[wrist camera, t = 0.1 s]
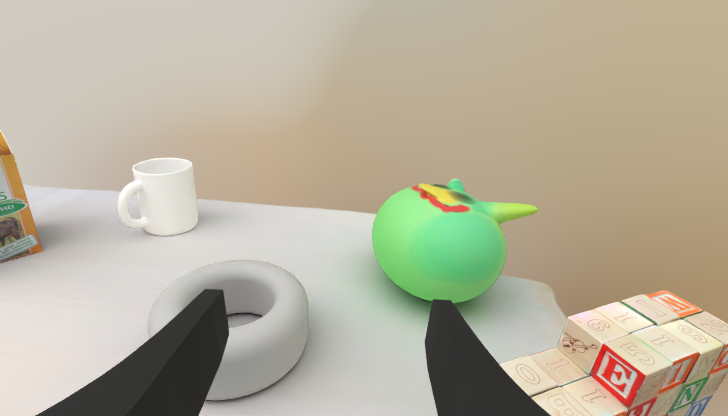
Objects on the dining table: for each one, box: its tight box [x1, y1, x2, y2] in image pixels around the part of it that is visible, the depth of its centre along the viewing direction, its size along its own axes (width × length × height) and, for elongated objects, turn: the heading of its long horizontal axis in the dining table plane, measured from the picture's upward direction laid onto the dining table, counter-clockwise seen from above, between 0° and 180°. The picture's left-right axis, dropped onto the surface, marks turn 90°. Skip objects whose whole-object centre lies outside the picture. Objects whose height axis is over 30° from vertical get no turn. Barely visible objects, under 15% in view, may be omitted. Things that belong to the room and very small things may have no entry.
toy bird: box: [372, 178, 538, 303], centre depth 51 cm, size 18×17×15 cm
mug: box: [117, 158, 198, 236], centre depth 60 cm, size 12×8×10 cm
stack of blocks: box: [499, 290, 728, 416], centre depth 30 cm, size 21×6×12 cm, turn 112°
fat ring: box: [148, 260, 308, 400], centre depth 40 cm, size 15×15×7 cm
